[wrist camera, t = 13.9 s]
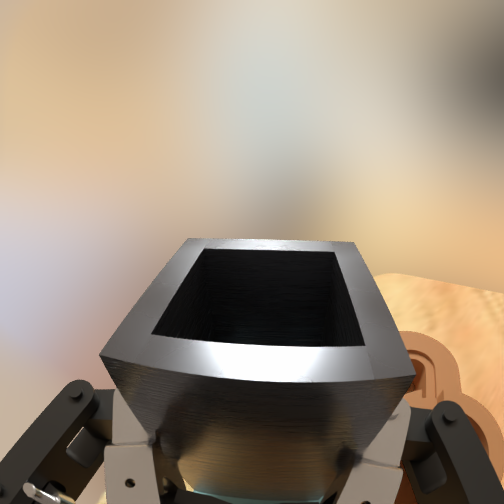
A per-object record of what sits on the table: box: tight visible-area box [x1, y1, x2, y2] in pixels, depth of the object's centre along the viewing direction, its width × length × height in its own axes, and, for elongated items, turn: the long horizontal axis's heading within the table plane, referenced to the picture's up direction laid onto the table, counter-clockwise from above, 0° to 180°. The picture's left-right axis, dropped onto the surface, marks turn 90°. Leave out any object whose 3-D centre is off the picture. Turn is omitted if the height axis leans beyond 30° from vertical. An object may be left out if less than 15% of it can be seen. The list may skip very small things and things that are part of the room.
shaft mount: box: [193, 490, 323, 504], centre depth 11 cm, size 7×8×7 cm
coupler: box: [99, 238, 416, 501], centre depth 8 cm, size 6×6×10 cm
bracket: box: [394, 331, 504, 504], centre depth 12 cm, size 18×8×7 cm, turn 155°
